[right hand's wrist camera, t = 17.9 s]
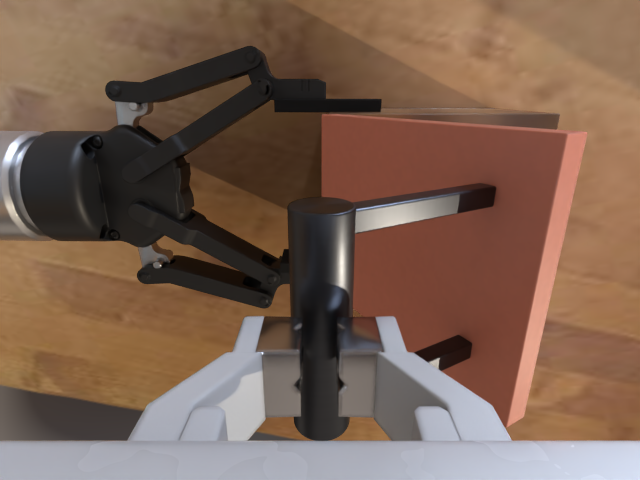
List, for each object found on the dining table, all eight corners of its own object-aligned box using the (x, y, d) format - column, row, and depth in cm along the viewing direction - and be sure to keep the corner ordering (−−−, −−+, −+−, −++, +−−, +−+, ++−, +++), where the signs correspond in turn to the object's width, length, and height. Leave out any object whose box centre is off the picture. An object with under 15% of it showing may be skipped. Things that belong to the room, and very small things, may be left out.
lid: (588, 131, 11) (340, 151, 7) (524, 417, 14) (334, 532, 11) (337, 113, 22) (184, 118, 18) (335, 280, 25) (206, 313, 21)
